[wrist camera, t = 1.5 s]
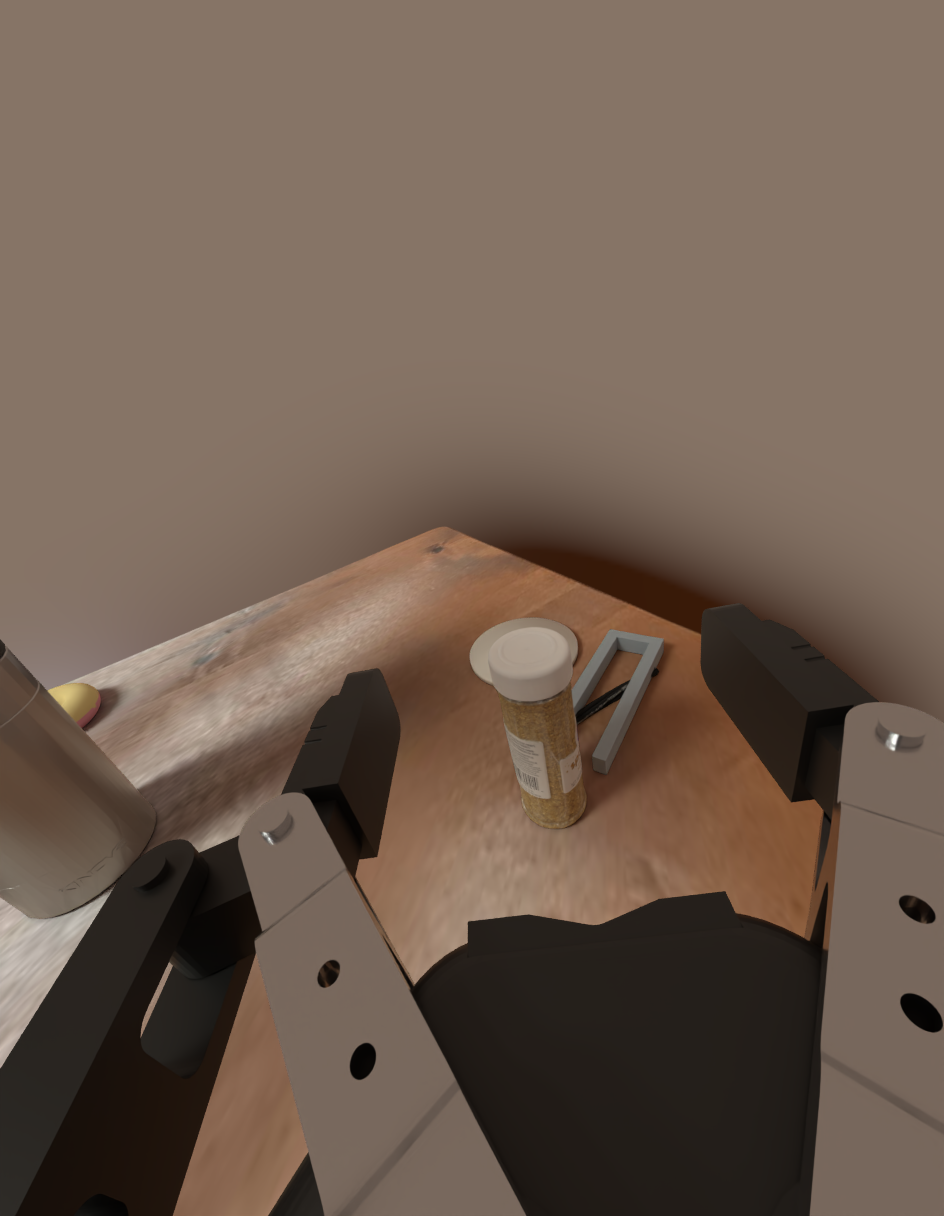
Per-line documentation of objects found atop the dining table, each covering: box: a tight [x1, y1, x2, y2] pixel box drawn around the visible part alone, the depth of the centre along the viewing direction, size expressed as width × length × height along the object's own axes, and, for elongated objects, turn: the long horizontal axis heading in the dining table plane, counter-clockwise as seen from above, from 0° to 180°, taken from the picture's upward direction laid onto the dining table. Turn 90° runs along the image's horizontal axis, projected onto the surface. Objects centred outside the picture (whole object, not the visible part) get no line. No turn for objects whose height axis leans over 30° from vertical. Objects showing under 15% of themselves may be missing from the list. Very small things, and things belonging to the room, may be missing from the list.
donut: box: [47, 683, 101, 728], centre depth 51 cm, size 10×5×9 cm
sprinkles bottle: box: [488, 627, 587, 829], centre depth 28 cm, size 5×5×13 cm
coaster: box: [470, 618, 578, 686], centre depth 46 cm, size 11×11×1 cm
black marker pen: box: [575, 667, 659, 725], centre depth 38 cm, size 12×1×1 cm, turn 119°
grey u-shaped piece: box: [571, 629, 664, 775], centre depth 38 cm, size 5×15×2 cm, turn 146°
